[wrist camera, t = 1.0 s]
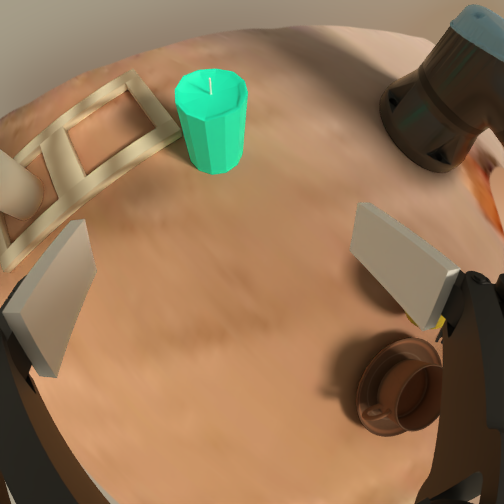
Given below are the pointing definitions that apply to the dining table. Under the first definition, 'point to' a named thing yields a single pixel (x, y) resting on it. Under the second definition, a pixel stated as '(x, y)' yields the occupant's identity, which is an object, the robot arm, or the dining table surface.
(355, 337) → the dining table surface
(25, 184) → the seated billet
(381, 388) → the cup and saucer
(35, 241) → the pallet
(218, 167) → the candle
